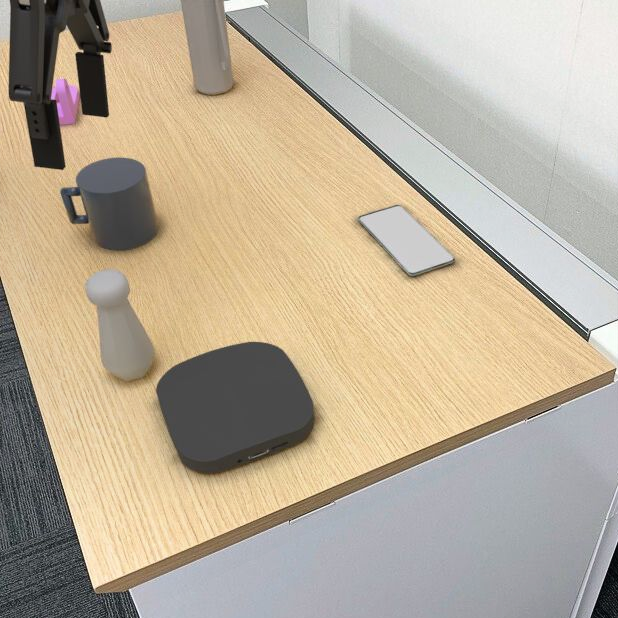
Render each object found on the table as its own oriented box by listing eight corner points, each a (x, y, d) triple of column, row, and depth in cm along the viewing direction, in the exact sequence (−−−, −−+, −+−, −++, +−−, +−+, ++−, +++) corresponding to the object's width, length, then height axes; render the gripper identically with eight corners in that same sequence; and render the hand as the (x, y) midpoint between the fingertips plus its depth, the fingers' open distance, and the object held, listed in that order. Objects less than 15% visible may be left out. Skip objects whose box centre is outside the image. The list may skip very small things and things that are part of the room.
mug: (162, 212, 106) (150, 155, 100) (154, 249, 100) (140, 191, 93) (80, 215, 106) (62, 159, 99) (67, 253, 99) (47, 195, 93)
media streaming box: (152, 388, 81) (146, 369, 79) (276, 348, 85) (273, 329, 83) (189, 487, 71) (183, 468, 69) (326, 436, 76) (325, 417, 74)
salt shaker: (134, 394, 80) (105, 303, 71) (95, 376, 82) (62, 285, 73) (169, 361, 84) (145, 270, 75) (130, 344, 86) (103, 254, 77)
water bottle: (185, 88, 136) (159, -62, 118) (220, 75, 139) (200, -72, 122) (214, 104, 131) (191, -50, 113) (249, 91, 134) (233, -61, 117)
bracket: (74, 123, 126) (63, 84, 121) (41, 126, 125) (28, 87, 121) (80, 90, 135) (70, 53, 130) (49, 93, 135) (37, 55, 130)
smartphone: (399, 203, 106) (456, 259, 96) (399, 207, 106) (456, 262, 96) (356, 216, 103) (410, 274, 94) (356, 219, 104) (410, 278, 94)
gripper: (30, -69, 53) (68, 198, 66) (129, -112, 73) (143, 101, 86) (-75, -83, 53) (-16, 188, 66) (53, -122, 72) (79, 93, 85)
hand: (74, 139), depth 76 cm, fingers open, 13 cm apart
